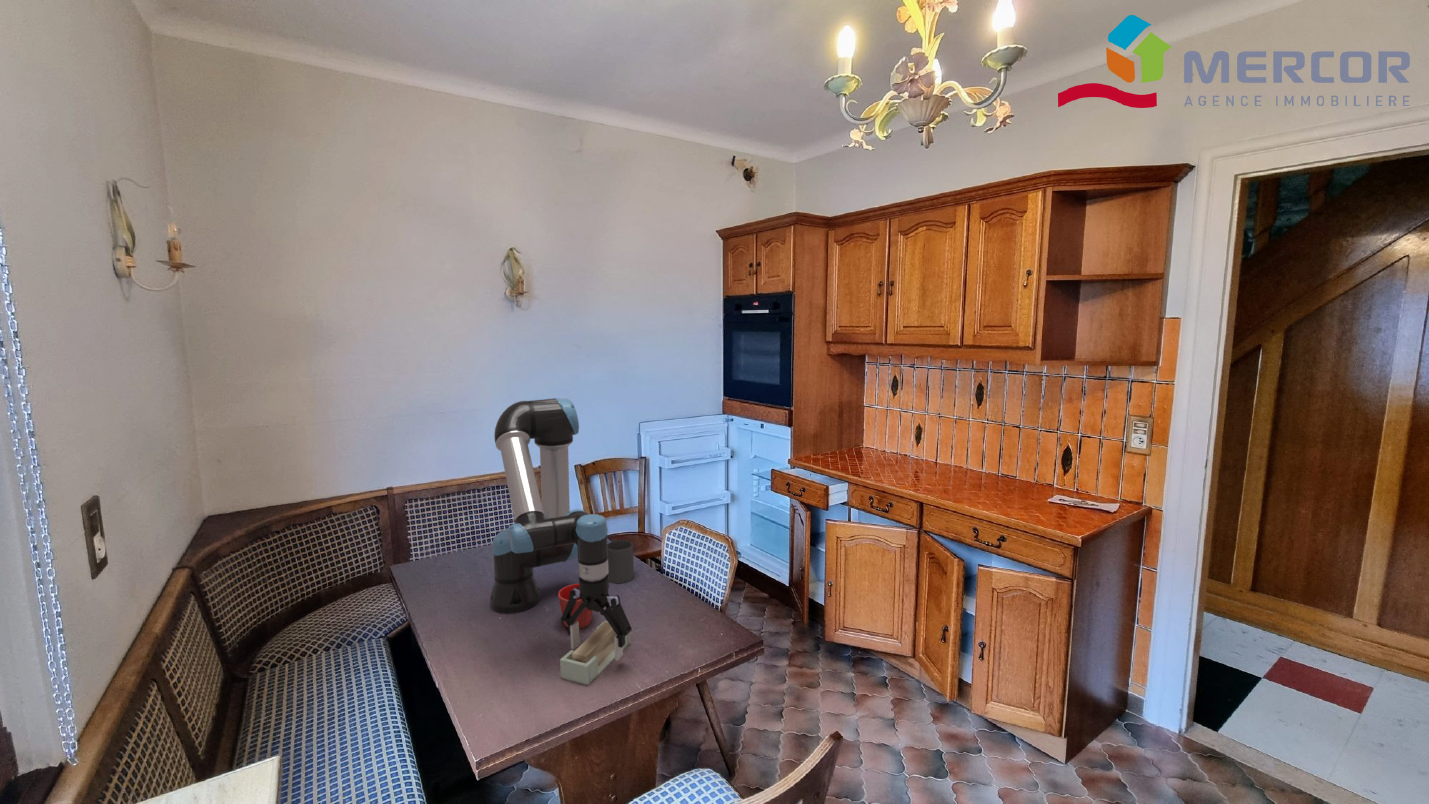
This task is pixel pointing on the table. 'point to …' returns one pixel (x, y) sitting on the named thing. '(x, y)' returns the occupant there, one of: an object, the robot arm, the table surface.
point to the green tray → (586, 666)
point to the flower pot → (564, 598)
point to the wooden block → (596, 645)
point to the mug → (620, 561)
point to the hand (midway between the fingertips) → (596, 651)
